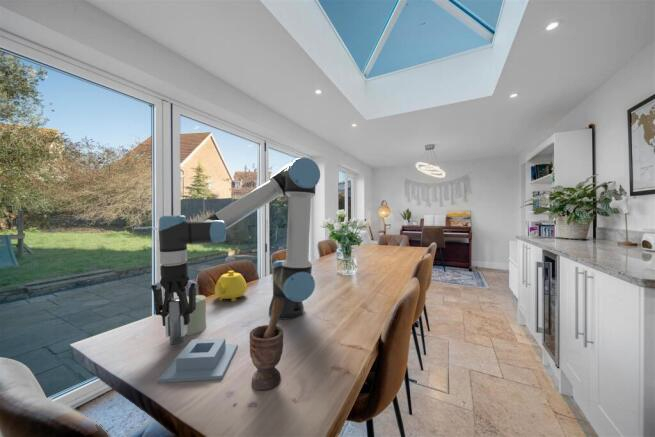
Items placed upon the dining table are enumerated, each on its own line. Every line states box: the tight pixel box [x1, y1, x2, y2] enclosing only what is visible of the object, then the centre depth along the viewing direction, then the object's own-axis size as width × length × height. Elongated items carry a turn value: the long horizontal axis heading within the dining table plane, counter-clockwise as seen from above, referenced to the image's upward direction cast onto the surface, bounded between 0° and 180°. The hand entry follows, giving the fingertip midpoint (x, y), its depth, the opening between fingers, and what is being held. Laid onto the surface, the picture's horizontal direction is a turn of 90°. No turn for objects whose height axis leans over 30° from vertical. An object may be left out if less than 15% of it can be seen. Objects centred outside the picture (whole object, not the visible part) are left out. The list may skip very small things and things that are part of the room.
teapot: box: [214, 270, 248, 302], centre depth 127 cm, size 20×16×14 cm
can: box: [184, 294, 207, 336], centre depth 94 cm, size 9×9×12 cm
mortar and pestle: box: [249, 298, 284, 391], centre depth 67 cm, size 12×9×20 cm
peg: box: [168, 297, 185, 347], centre depth 82 cm, size 4×4×14 cm
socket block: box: [157, 337, 239, 384], centre depth 74 cm, size 16×16×4 cm
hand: (176, 334), depth 82 cm, fingers closed on peg, 4 cm apart
